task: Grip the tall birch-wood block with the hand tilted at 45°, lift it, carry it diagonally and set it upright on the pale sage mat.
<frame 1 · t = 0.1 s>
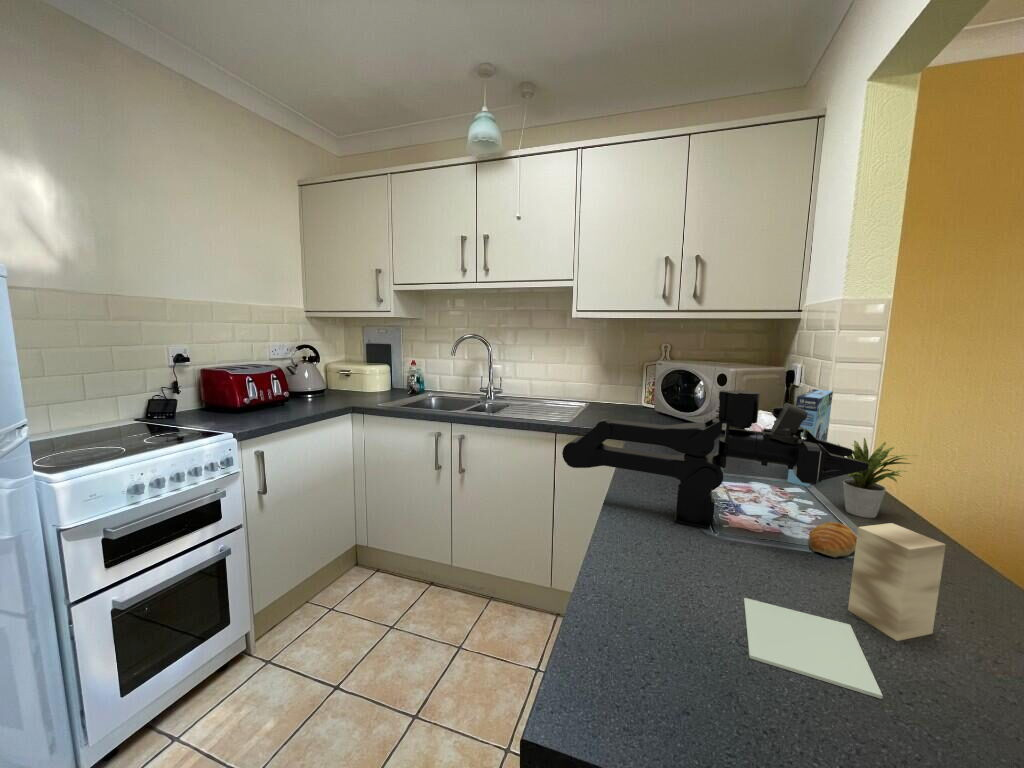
hand: (859, 459, 72), 17 cm above the countertop, fingers open, 9 cm apart
pastry: (832, 549, 75), on the countertop
birch block: (888, 621, 55), on the countertop
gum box: (806, 477, 113), on the countertop
house plant: (861, 515, 89), on the countertop
sage mat: (802, 642, 51), on the countertop
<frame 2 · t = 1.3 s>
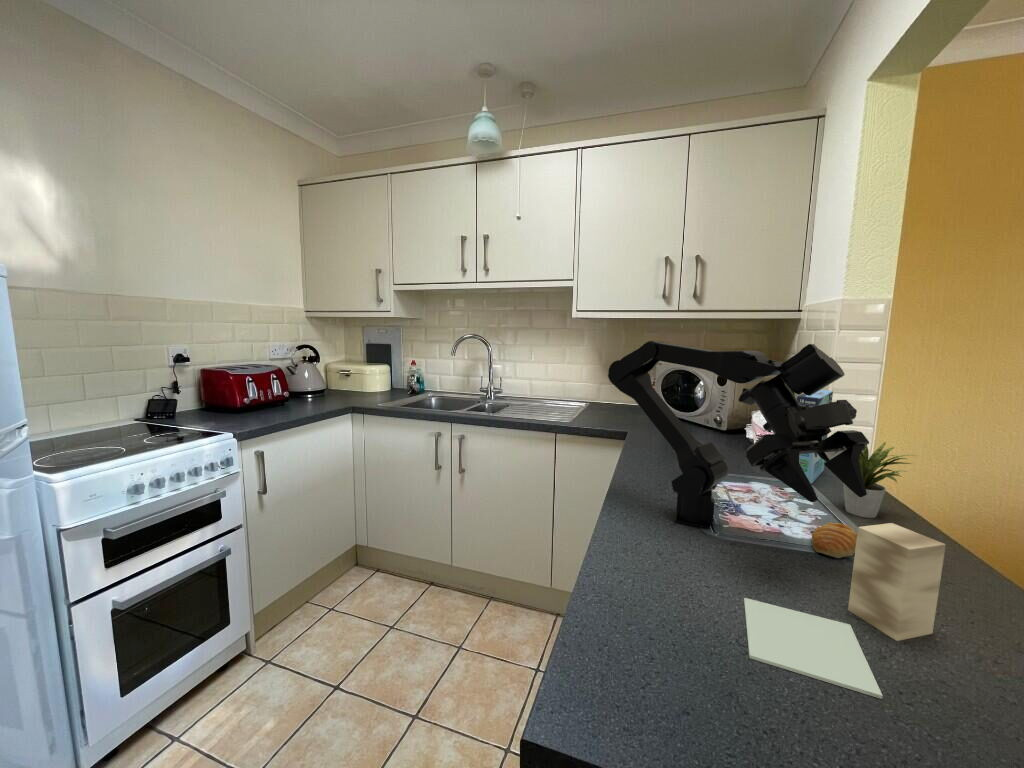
hand: (839, 498, 62), 14 cm above the countertop, fingers open, 9 cm apart
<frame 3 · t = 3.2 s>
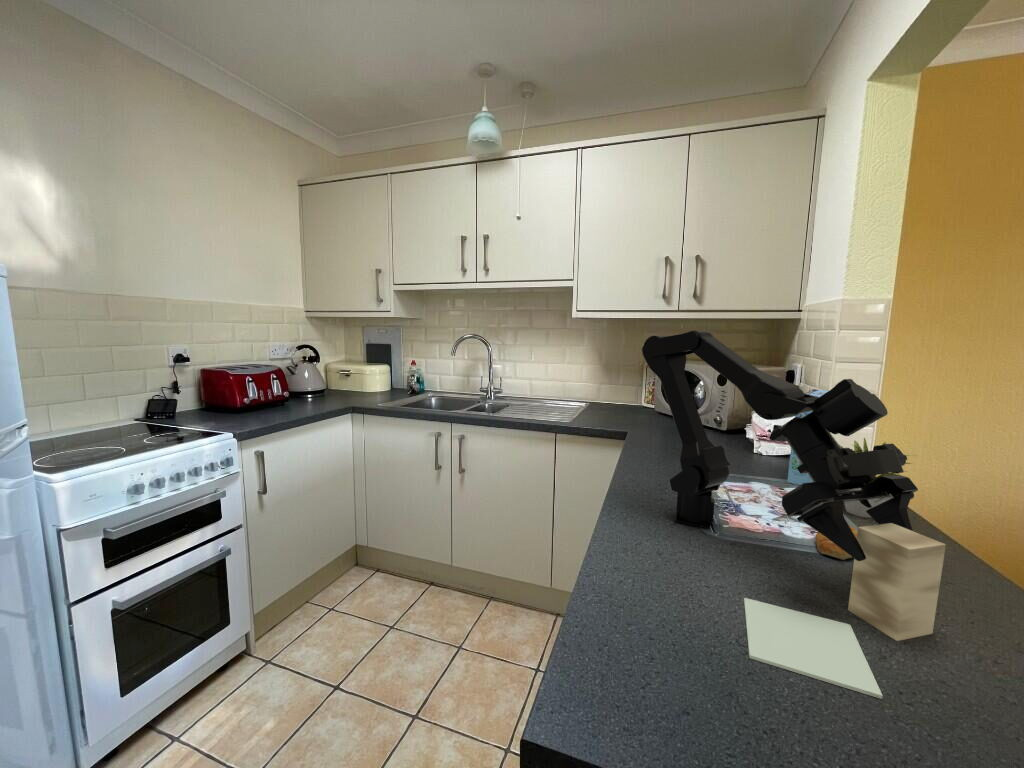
hand: (889, 556, 55), 9 cm above the countertop, fingers open, 9 cm apart
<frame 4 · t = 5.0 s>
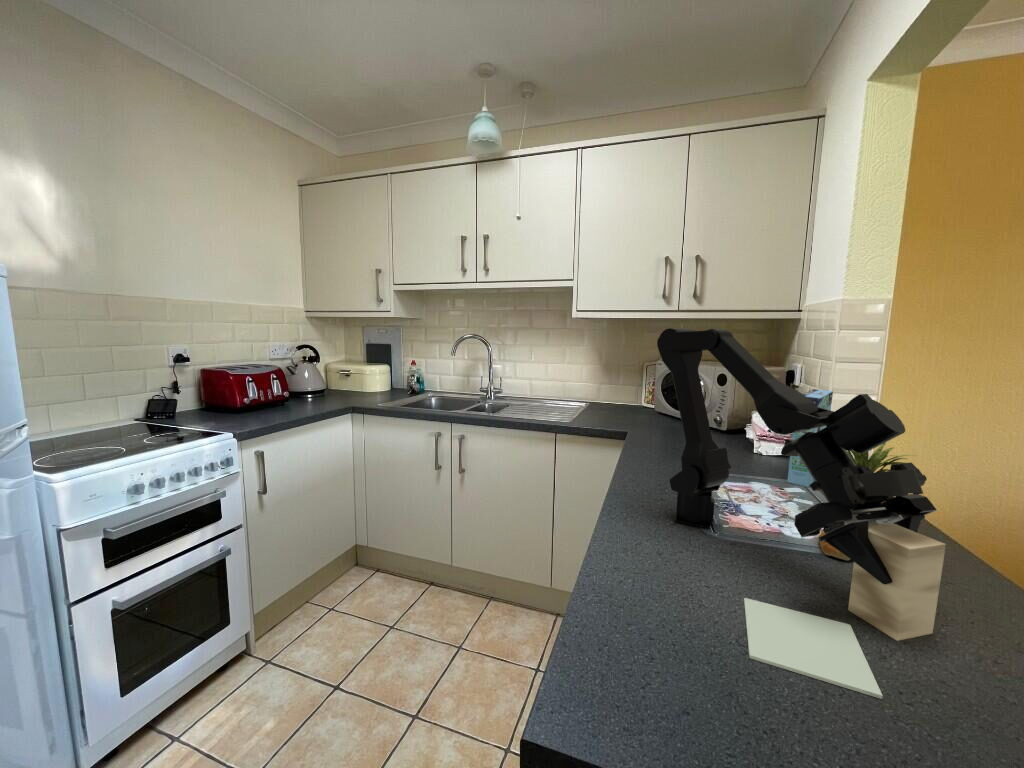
hand: (907, 580, 53), 7 cm above the countertop, fingers closed on birch block, 6 cm apart
birch block: (888, 621, 55), on the countertop, touching gripper
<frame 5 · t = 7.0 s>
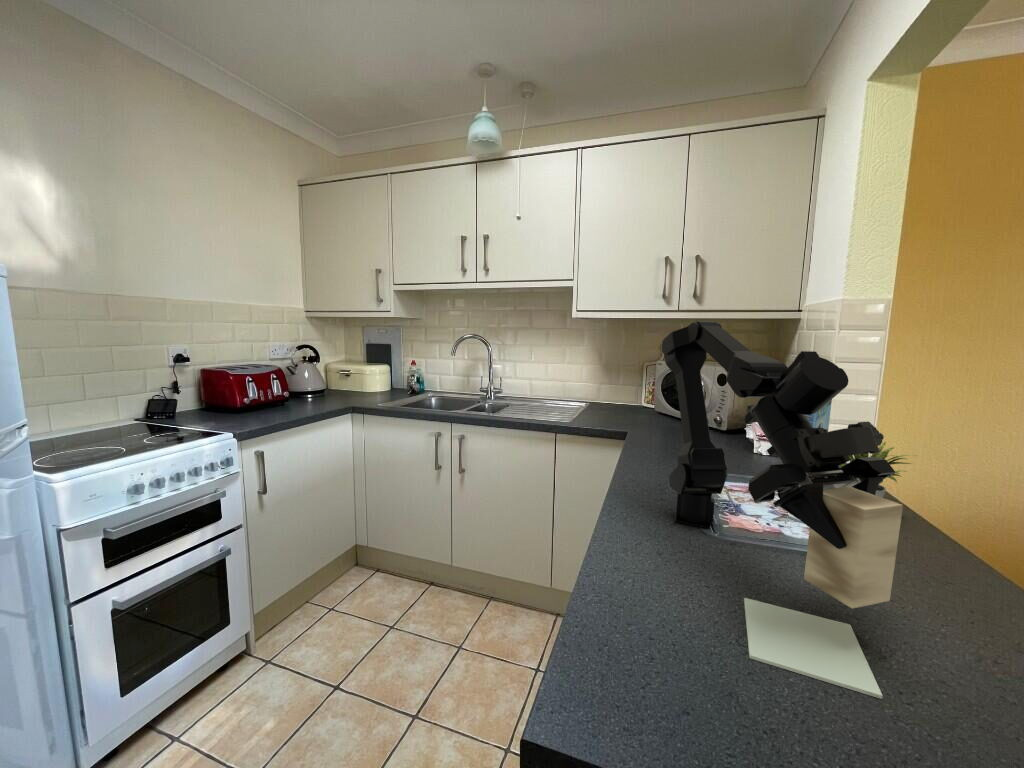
hand: (863, 544, 50), 13 cm above the countertop, fingers closed on birch block, 6 cm apart
birch block: (845, 589, 52), point 6 cm above the countertop, touching gripper
when the fingers open (8 cm above the countertop, at t = 9.3 s): birch block stays where it is, resting on sage mat.
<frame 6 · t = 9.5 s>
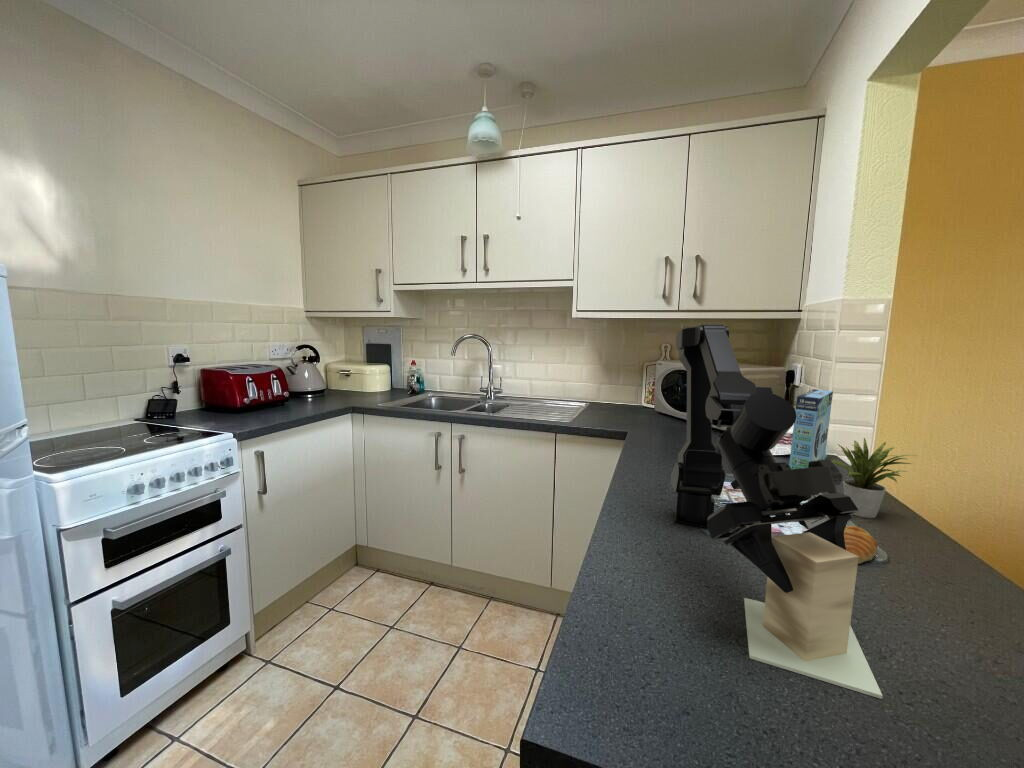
hand: (819, 587, 49), 8 cm above the countertop, fingers open, 8 cm apart
birch block: (802, 638, 51), resting on sage mat
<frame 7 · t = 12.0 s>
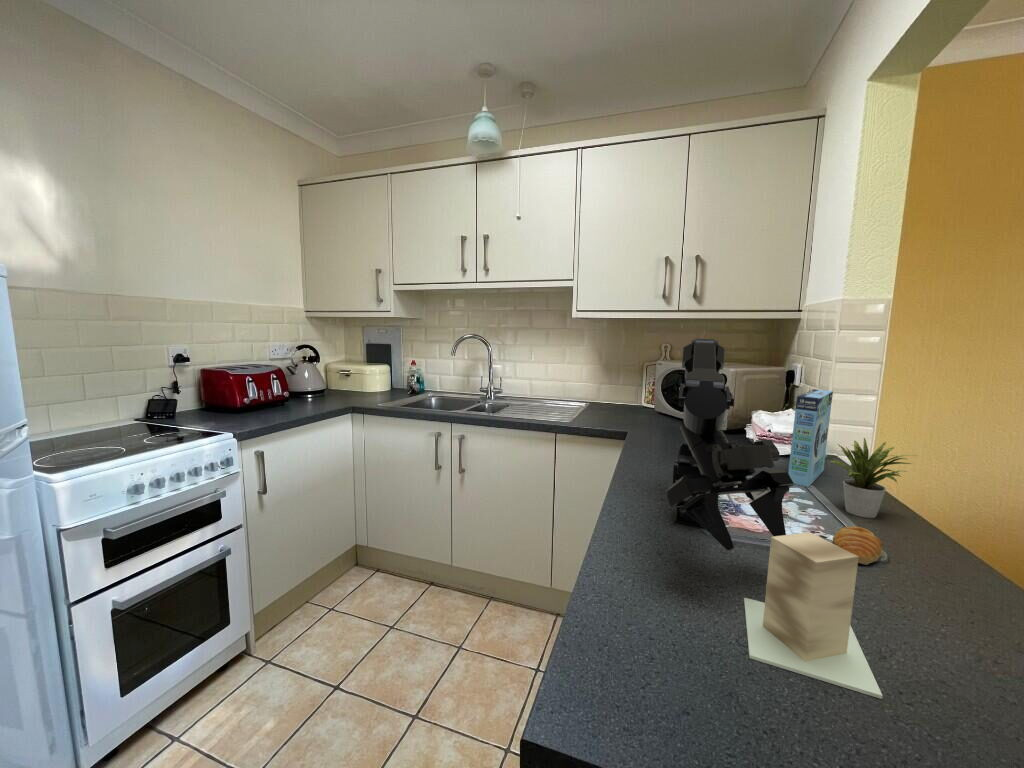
hand: (757, 545, 58), 8 cm above the countertop, fingers open, 9 cm apart
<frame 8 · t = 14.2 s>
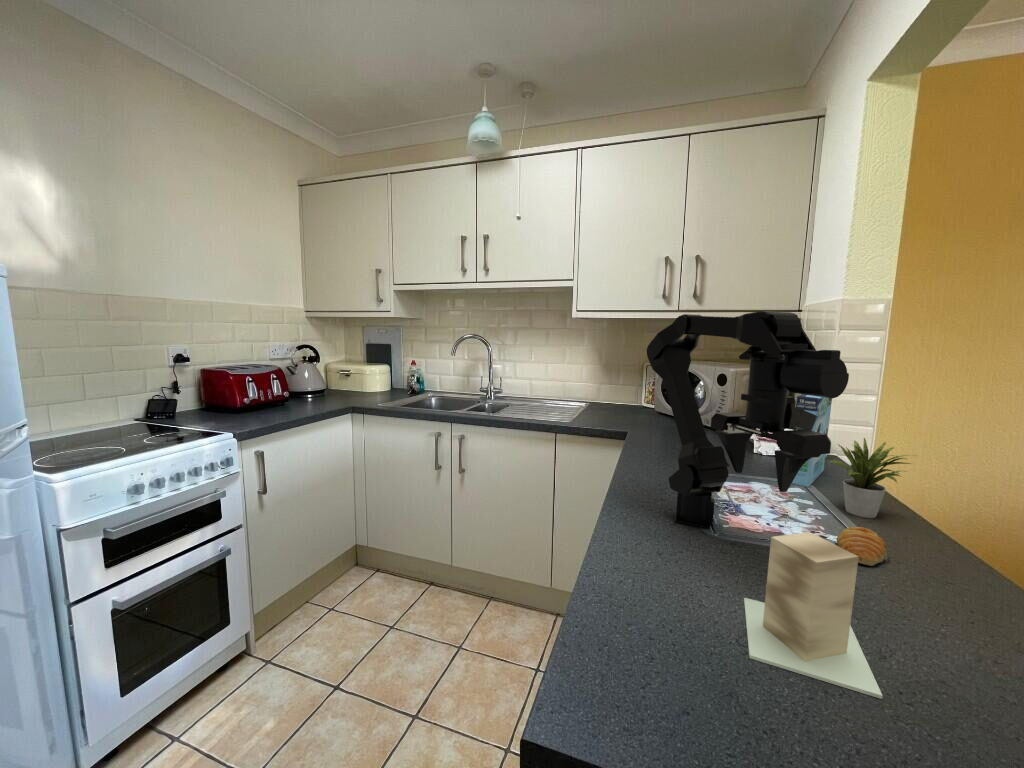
hand: (759, 481, 70), 13 cm above the countertop, fingers open, 9 cm apart
at the end: birch block 0.0 cm off-centre on the sage mat, point 0.4 cm above the sage mat's base; birch block tilted 0°; the gripper is holding nothing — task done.
